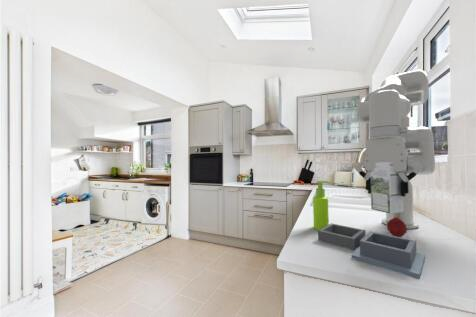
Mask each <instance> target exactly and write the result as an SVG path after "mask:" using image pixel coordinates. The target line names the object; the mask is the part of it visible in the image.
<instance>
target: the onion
mask: <svg viewBox="0 0 476 317" xmlns="http://www.w3.org/2000/svg"><path fill="white" fill-rule="evenodd" d="M386 230H387V231H388V233H389V234H391V236H396V237H401V238H402V237H403V236H404V235H406V233H407V230H408V229H407V227H406V225H405V223H404V222H403V221H402V220H400V219H399V218H398V217H397V216H394V218H393V219H391V220H389V222H388V223H387V225H386Z"/></svg>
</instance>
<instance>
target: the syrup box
mask: <svg viewBox="0 0 476 317" xmlns="http://www.w3.org/2000/svg"><path fill="white" fill-rule="evenodd" d="M370 177H371V194H370V200H371V201H370V202H371V203H370V204H371V205H370V206H371V207H370V208H371V210H374V211H378V212H383V213H385V214H386V213H399V212H403V196H401V182H402V178H401V177H400V176H399V174H398V173H395V172H394V168H393V163H392V161H390V162H378V163H375V168H374V171H372V172H370Z"/></svg>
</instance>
